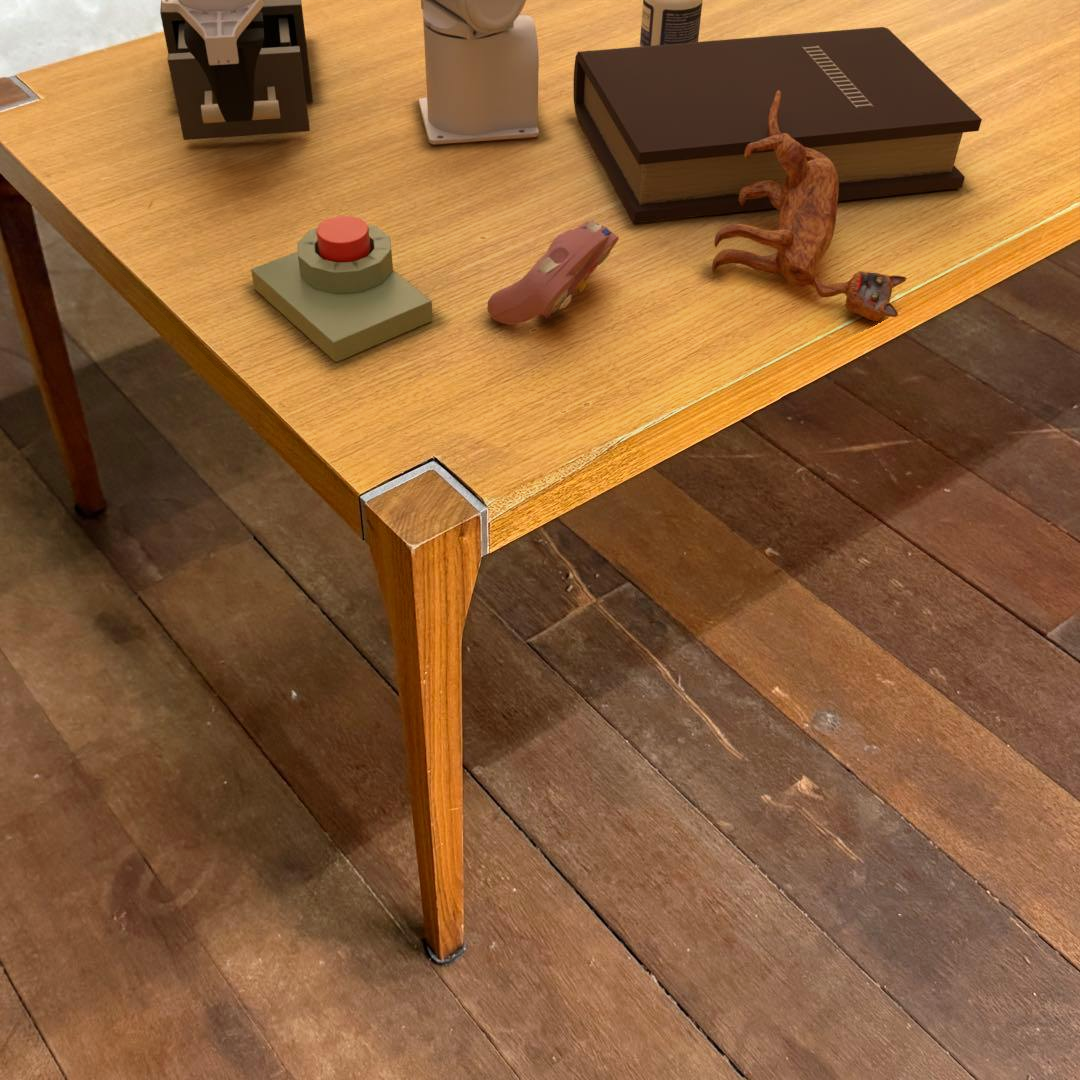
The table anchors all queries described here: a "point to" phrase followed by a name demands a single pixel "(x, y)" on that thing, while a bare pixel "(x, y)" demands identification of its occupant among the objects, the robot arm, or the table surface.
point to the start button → (343, 239)
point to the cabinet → (274, 3)
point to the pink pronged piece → (554, 275)
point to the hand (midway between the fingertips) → (238, 117)
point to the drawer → (273, 89)
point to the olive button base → (343, 296)
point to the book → (766, 118)
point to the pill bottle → (670, 22)
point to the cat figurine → (803, 225)
